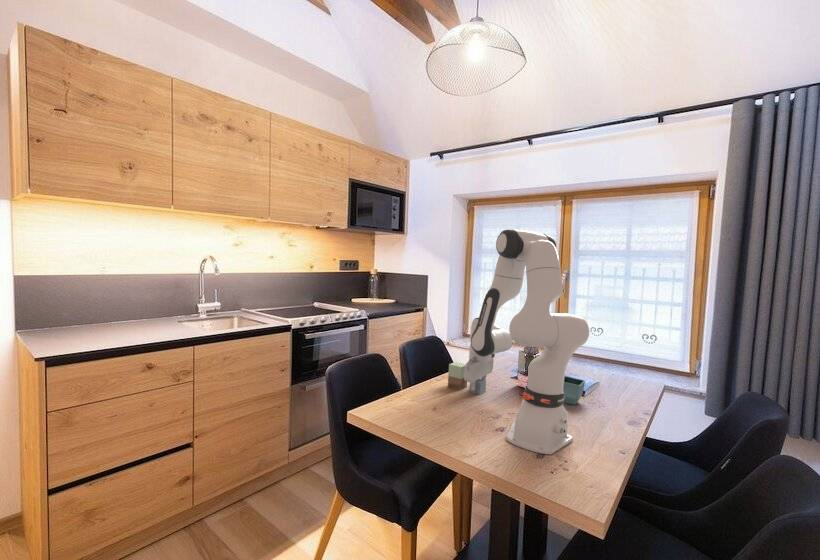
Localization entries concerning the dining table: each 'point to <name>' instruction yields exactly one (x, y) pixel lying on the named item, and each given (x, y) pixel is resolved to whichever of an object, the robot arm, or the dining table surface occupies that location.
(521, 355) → the candy bar box
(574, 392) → the flower pot
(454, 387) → the walnut block
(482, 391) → the slate cube
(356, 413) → the dining table surface
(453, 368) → the sage block
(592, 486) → the dining table surface
